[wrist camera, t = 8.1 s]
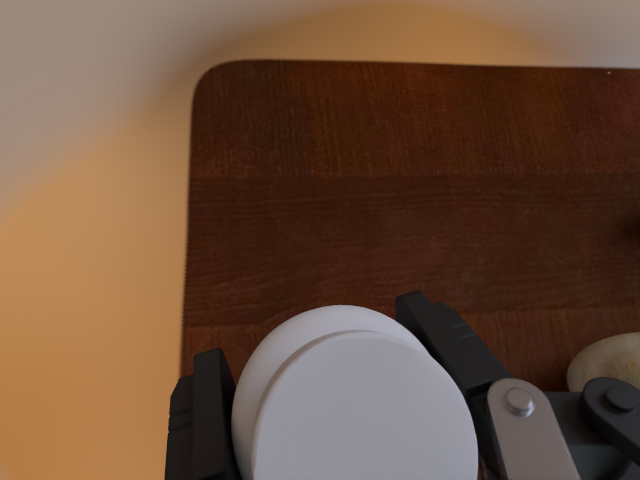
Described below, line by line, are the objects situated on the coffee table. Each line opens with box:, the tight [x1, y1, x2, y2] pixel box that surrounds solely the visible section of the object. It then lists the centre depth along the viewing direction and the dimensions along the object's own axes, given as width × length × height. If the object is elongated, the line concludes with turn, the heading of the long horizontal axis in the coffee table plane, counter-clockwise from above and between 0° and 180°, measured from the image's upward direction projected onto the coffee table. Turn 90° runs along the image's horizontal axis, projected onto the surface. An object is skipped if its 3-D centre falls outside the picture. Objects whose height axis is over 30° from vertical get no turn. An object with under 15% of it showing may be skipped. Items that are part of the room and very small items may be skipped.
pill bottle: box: [231, 305, 478, 480], centre depth 11 cm, size 5×5×10 cm
